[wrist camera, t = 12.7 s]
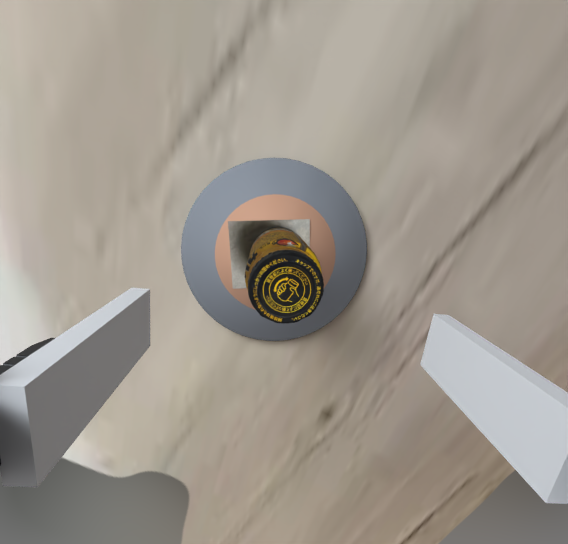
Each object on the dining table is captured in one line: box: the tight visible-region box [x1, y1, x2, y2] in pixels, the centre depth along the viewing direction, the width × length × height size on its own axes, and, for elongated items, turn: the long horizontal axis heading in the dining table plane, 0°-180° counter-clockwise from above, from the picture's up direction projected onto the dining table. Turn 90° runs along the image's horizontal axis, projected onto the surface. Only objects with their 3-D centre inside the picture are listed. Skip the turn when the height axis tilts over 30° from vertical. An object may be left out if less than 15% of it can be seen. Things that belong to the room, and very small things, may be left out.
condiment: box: [228, 219, 324, 324], centre depth 25 cm, size 7×8×12 cm
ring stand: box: [181, 158, 367, 341], centre depth 31 cm, size 20×20×1 cm
